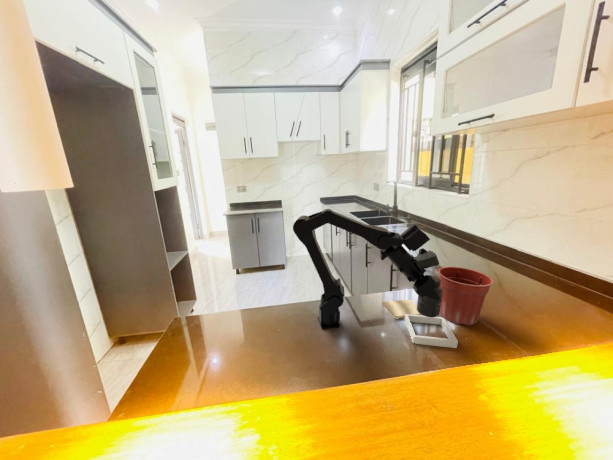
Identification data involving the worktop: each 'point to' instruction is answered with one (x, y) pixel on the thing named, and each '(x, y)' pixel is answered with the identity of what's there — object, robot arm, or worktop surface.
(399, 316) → the birch board
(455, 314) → the flower pot
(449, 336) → the frame
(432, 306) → the supplement bottle
